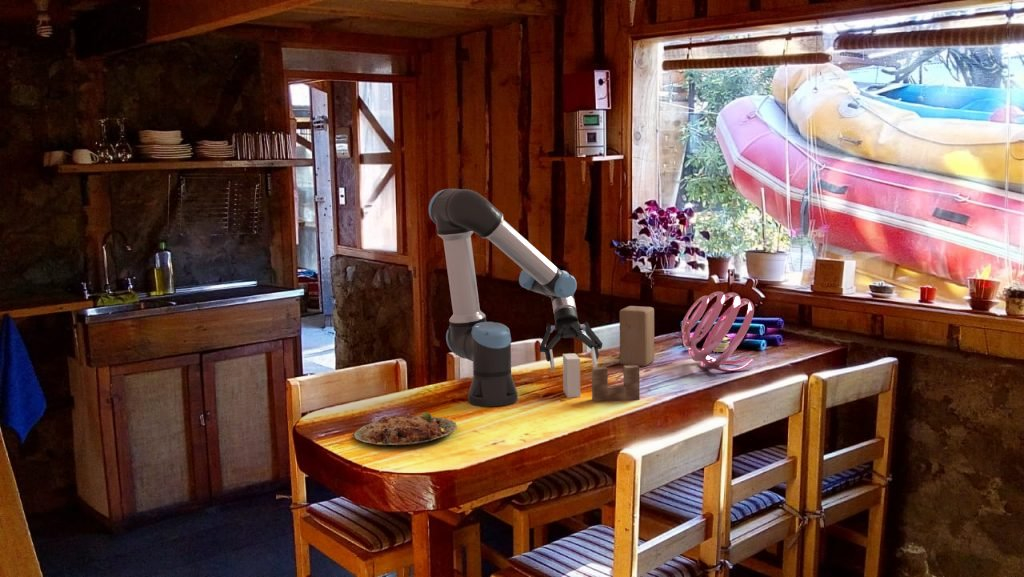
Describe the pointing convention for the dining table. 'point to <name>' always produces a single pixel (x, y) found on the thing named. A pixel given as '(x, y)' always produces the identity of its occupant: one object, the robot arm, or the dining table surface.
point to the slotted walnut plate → (615, 391)
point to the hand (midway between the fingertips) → (574, 368)
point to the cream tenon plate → (571, 375)
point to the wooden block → (636, 335)
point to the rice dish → (405, 429)
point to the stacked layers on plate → (722, 345)
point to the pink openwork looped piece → (715, 330)
